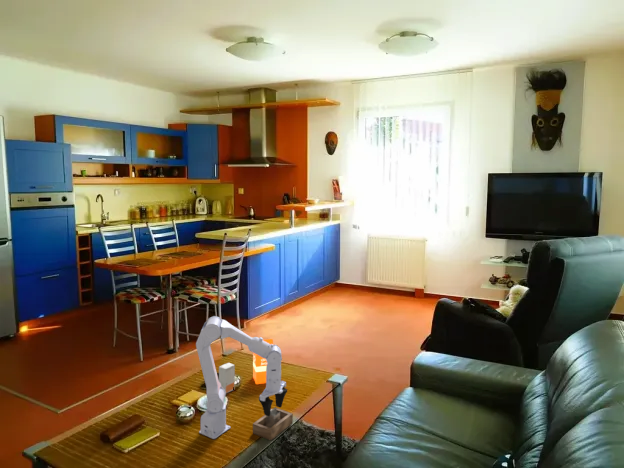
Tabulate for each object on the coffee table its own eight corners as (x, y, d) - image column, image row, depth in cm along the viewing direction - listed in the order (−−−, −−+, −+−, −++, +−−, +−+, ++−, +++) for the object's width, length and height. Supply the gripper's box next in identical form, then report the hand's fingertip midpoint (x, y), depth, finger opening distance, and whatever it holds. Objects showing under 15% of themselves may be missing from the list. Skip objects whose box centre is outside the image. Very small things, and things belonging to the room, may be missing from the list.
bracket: (273, 430, 181) (274, 413, 179) (265, 427, 183) (265, 410, 182) (279, 426, 184) (280, 408, 183) (271, 422, 186) (271, 406, 185)
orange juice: (252, 377, 227) (253, 337, 224) (270, 375, 229) (271, 335, 226) (255, 384, 219) (256, 343, 216) (274, 382, 222) (274, 341, 219)
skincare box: (225, 394, 209) (224, 369, 207) (218, 391, 211) (218, 366, 210) (235, 389, 214) (235, 364, 212) (228, 386, 216) (228, 362, 214)
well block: (270, 440, 175) (270, 430, 174) (252, 433, 179) (252, 423, 179) (292, 423, 187) (292, 413, 187) (275, 416, 192) (275, 407, 191)
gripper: (270, 387, 172) (270, 422, 174) (292, 373, 184) (292, 405, 186) (255, 382, 176) (255, 416, 178) (278, 369, 188) (277, 400, 190)
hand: (273, 410), depth 182 cm, fingers open, 7 cm apart
